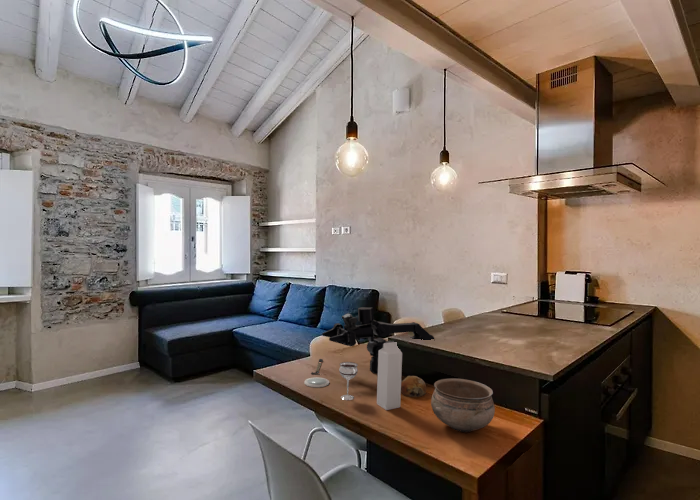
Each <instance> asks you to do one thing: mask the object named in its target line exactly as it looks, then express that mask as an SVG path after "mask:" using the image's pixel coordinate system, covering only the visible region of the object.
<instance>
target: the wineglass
mask: <svg viewBox="0 0 700 500" xmlns="http://www.w3.org/2000/svg"><path fill="white" fill-rule="evenodd" d="M358 366H359V364H358V363H356V362H353V361H342V362H340V363H339V369H338V371H339V375H340V376H341V377H342V378H343V379H345V380H346V394H344V395H341V396H340V399H342V400H344V401H351V400H354V399H355V396H354V395H350V394H349V386H350V381H351V379H353V378H355V377H356V376H357V374H358Z"/></svg>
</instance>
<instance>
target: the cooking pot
mask: <svg viewBox="0 0 700 500" xmlns="http://www.w3.org/2000/svg"><path fill="white" fill-rule="evenodd" d="M433 387H434V390H433V393H432V396H431V400H430V406H431V408H432V411H433V414H434V415H435V416H436V418H437V419H438V420H439V421H440V422H442V423H443V424H445V425H446V426H448V427H449V428H451V430H454V431H456V432H459V431H460V433H471V432H472V431H476V430H477V431H478V430H480V429H482V428H485V427H486V426H488V425H489V424H490V423H491V422H492V420H493V419H494V416H495V412H496V411H495V410H496V409H495V403H494V400H493V396H492V395H493V394H494V392H493V389H492V388H490V386H487V385H486V384H483V383H481V382H478V381H475V380H470V379H466V378H465V379H464V378H441V379H438V380H437V381H435V382H434V383H433Z"/></svg>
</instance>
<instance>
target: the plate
mask: <svg viewBox="0 0 700 500" xmlns="http://www.w3.org/2000/svg"><path fill="white" fill-rule="evenodd" d="M304 385H305V386H306V387H309V388H325V387H328V386H329V385H330V380H329V379H327V378H325V377H316V376H315V377H309V378H306V379H305V380H304Z"/></svg>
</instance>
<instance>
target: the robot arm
mask: <svg viewBox="0 0 700 500" xmlns="http://www.w3.org/2000/svg"><path fill="white" fill-rule="evenodd" d="M374 309H375V308H373V307H364V306H362V307H358V308H357V310H358V311H357V313H358V314H357V315H358V319H357V317H356V316H355V317H353V315H352V314H351V313H345V314H344V315H342V316H341V319H342V320H343V323H344V325H343V324H341V323H339V322H338V323H334V324H333V327H332V328H331V329H329V330H326V331H324V332H322V335H321V336H322V337H325V338H329V341H330V342H332V343H337V344H340V345H345V346H348V347H354V346H356V344H357V341H360V340H361V339H365V338H366V339H367V340H368V342H367V344H366V351H368V352H369V355H370V356H371V359H370V360H369V371H370V372H372V373H373V374H374V375H375V374H377V375H378V352H379V350H380V349H382V348H383V344H384V343H391V342H394V341H391V340H387V339H384V338H385V337H387V336H388V337H389V336H390V335H392V334H401V333H413V336H410V338H412V339H421V340H422V339H423V340H431V339H434V340H435V337H434V335H432V334H430V333H429V332H428V331H427V330H426V329H425V328H423V327H422V325H420V323H417V322H413V321H412V322H403V323H387V322H384V321H377V320H375V319H374V311H375V310H374ZM357 322H359V323H360V325H359V324H358V325H357ZM374 335H376V336H378V337H377V338H376V336H374Z"/></svg>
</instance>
